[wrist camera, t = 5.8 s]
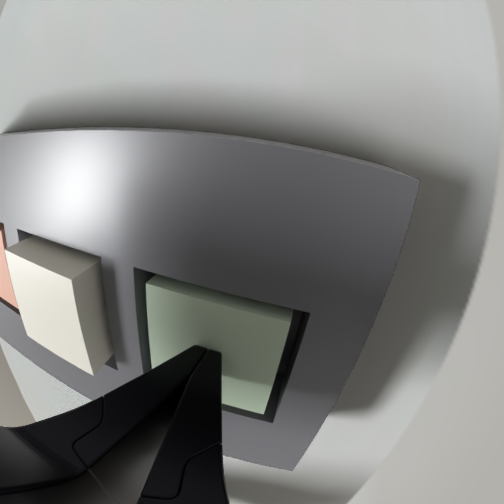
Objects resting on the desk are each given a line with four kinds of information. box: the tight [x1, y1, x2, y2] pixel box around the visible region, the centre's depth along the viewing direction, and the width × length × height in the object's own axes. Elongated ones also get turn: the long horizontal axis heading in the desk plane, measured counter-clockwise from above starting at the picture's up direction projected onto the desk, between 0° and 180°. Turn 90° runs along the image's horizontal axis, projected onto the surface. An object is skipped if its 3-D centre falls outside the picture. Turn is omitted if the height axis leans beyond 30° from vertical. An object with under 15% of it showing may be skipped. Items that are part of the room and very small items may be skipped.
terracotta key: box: [0, 222, 19, 309], centre depth 11 cm, size 4×4×2 cm
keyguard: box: [0, 127, 420, 471], centre depth 11 cm, size 12×20×4 cm, turn 82°
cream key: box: [5, 235, 114, 376], centre depth 9 cm, size 4×4×2 cm
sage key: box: [146, 274, 293, 414], centre depth 9 cm, size 4×4×2 cm
